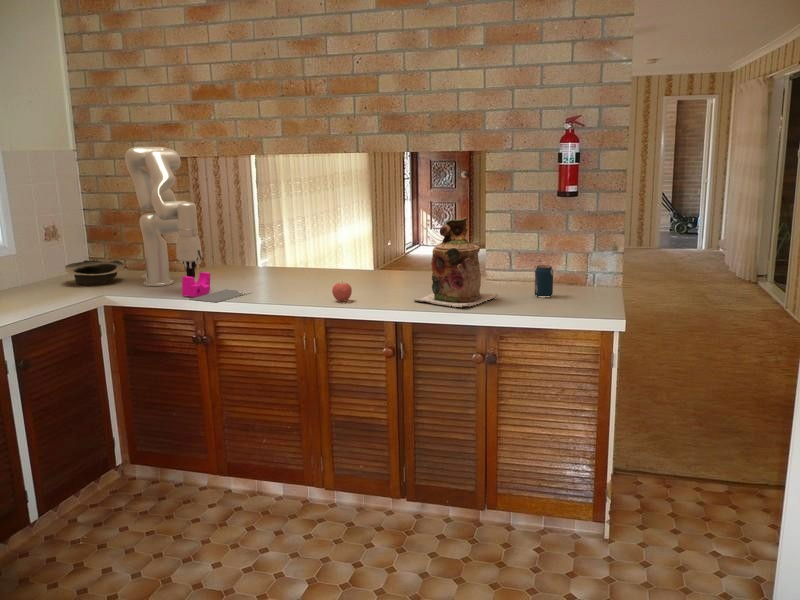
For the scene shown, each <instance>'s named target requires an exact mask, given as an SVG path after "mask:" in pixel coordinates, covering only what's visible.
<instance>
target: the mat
mask: <svg viewBox="0 0 800 600" xmlns="http://www.w3.org/2000/svg"><path fill="white" fill-rule="evenodd" d="M237 290H238V289H236V290H235V289H228V288H227V289H223V290H222V289H221V290H217V291H214V292H209V293H208V294H205V295H202V296H198V297H192V298H191V297H190V298H188V300H189V301H196V302H197V301H198V302H206V303H208V302H209V303H219V302H220V301H221V302H223V300H224V301H227V300H226V299H228V300H231V299H234V298H233V297H235V298H238V297H237V296H239V297H241V296H240V295H242V296H244V295H243V294H242V293H243V292H242V293H239V292H238V291H239V290H238V291H237ZM244 294H245V293H244ZM230 298H231V299H230ZM221 302H220V303H221Z"/></svg>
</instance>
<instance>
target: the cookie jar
mask: <svg viewBox="0 0 800 600" xmlns="http://www.w3.org/2000/svg"><path fill="white" fill-rule="evenodd" d="M467 219H468V217H464V218H462V219H450V220H447V221H446V222H445V224H444V225H442V226H441V227H440V228H439V234H440V236H442V237H443V239H442V242H439V243H438V244H437V245H435V247H433V249H432V256H431V260H430V262H431V263H430V264H431V270H430V271H432V274H431V275H432V276H431V281H432V283H431V291H432V293H430V294H428V295H426V296H424V297H418V298H416V297H415V298H413V301H414V302H426V303H430V304H434V305H440V306H446V307H451V306H452V308H456V307H461V308H462V307H471V306H473V305H475V306H477V305H476V304H478V305H480V304H479V303H481V304H483V303H482V302H484V301H486V302H488V301H487V300H490V299H493V298H496V297H497V298H498V297H499V293H486V292H485V293H483V292H482V293H481V292H480V290H481V286H482V283H481V282H482V281H481V280H482V276H481V275H482V274H481V270H480V260H479V253H480V251H481V247H480V246H479V245H476V244H473V243H470V241H468V239H466V236H467V234H468V233H467V232H468V231H469V229H468V228H467V227H468V226H467V225H468V224H467ZM415 300H416V301H415ZM493 300H494V299H493ZM490 301H491V300H490ZM484 303H485V302H484ZM473 307H474V306H473Z"/></svg>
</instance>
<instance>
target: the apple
mask: <svg viewBox="0 0 800 600" xmlns="http://www.w3.org/2000/svg"><path fill="white" fill-rule="evenodd" d="M331 289H332V290H331V291H332V295H333V297H334V299H335V300H336V301H337V302H340V303H341V302H346V301H348V300H349V299H350V298H351V297H352V290H353V289H352V286H351V285H350V284H349V283H348V282H344V281H343V280H342V282H338V283H335V284H334V285H333V287H332V288H331Z"/></svg>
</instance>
